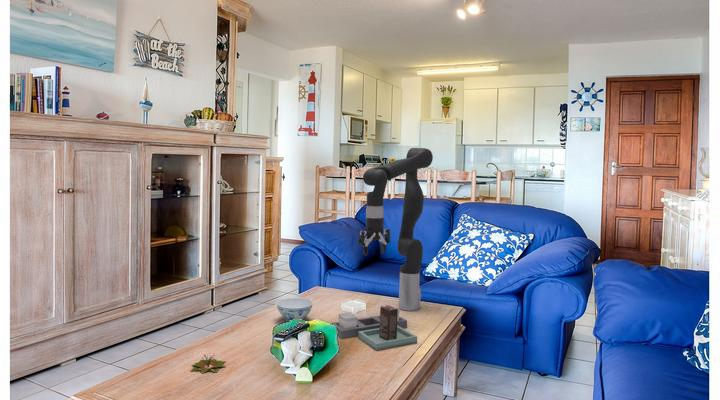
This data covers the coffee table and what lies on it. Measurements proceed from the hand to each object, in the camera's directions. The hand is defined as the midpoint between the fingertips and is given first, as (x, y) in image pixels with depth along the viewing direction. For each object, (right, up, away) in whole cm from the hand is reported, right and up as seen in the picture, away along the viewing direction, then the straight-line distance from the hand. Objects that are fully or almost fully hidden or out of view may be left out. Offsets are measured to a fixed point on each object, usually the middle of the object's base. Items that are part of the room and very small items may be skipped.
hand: (374, 254), depth 205 cm
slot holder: (-2, -30, -8) cm, 31 cm away
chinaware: (-34, -29, -1) cm, 44 cm away
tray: (+4, -31, -21) cm, 37 cm away
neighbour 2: (+6, -30, -4) cm, 30 cm away
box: (+5, -30, -20) cm, 37 cm away
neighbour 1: (-11, -30, -13) cm, 35 cm away
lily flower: (-56, -32, -48) cm, 80 cm away
